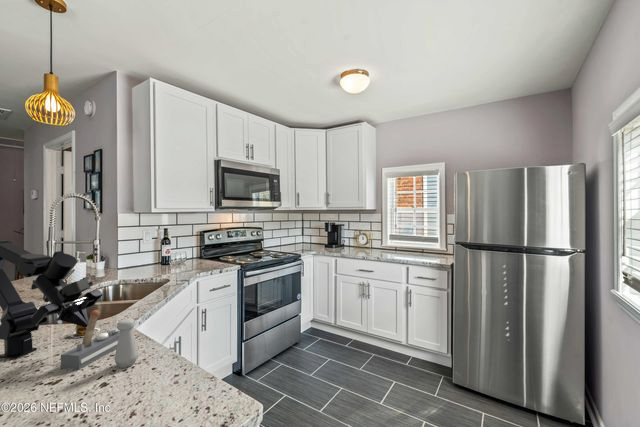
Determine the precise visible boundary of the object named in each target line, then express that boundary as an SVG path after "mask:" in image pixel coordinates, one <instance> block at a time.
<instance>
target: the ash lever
mask: <svg viewBox="0 0 640 427" xmlns="http://www.w3.org/2000/svg"><path fill="white" fill-rule="evenodd" d="M100 315H101V312H100V311H99V309H94V310H91V311H90V314H89V316H90V317H89V318H88V320H89V322H88V325H87V329H86V332H85V335H84V337H82V338H83V339H82V343H81V344H84V347H85V346H87V345H89V344H90V341H91V339H92V337H93V335H94V331H95V330H94V328H96V324H97V321H98V319H99V316H100Z"/></svg>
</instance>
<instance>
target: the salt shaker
mask: <svg viewBox="0 0 640 427" xmlns="http://www.w3.org/2000/svg"><path fill="white" fill-rule="evenodd" d="M134 327H135V320H134V319H133V318H126V319H122V320H119V321H118V322H117V324H116V328H117V329H118V330H119V331H120V333H119V338H118V343H117V348H116V349H115V353H114V357H113V358H114V359H113V360H114V363H115V364H116V366H117V368H120V369H125V368H129V367H132V366H134V364H136V361H137V358H138V355H139V353H138V348H137V344H136V343H137V342H136V339H135V334H134V330H133V328H134Z"/></svg>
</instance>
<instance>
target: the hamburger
mask: <svg viewBox="0 0 640 427" xmlns="http://www.w3.org/2000/svg"><path fill="white" fill-rule="evenodd" d="M74 329H75V331H74V332H72V333H70V334H69V336H70V338H73V339H74V338H75V339H76V338H77V339H80V337H81V338H84V335H85V332H86V329H87V327H86V328H85V327H82V326H78V325H76V326H75V328H74ZM97 330H98V331H97ZM94 331H96V332H93V335H96V334H97V333H100V331H101V328H100V327H95V328H94ZM74 335H77V336H74Z"/></svg>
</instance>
